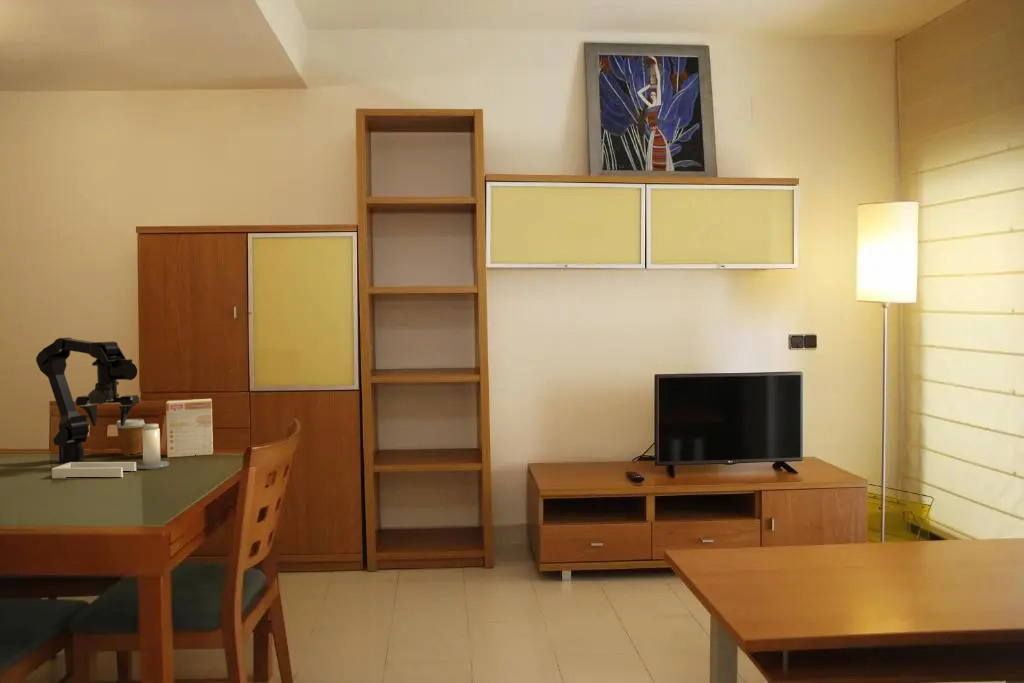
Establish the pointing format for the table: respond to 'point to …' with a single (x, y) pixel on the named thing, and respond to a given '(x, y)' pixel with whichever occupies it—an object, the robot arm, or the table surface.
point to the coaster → (161, 465)
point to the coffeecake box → (189, 427)
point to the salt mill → (151, 444)
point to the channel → (93, 469)
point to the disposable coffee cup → (130, 436)
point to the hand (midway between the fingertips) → (108, 426)
